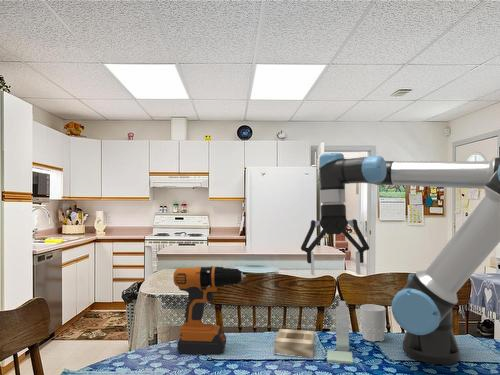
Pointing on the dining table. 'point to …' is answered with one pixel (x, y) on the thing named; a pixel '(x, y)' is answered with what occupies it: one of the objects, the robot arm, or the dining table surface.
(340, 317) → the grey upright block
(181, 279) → the power drill
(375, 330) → the white cup
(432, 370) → the dining table surface
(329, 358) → the mat
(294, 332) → the socket block
